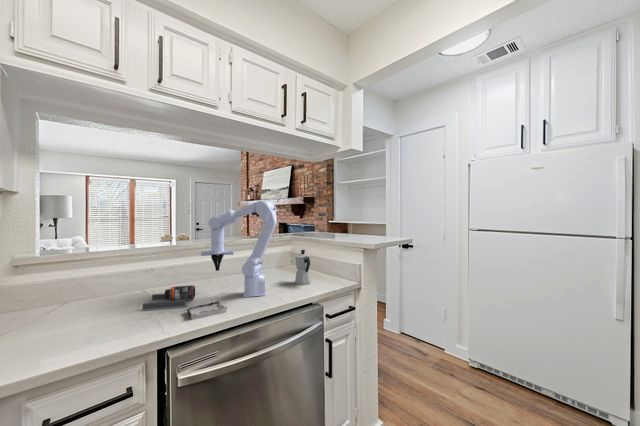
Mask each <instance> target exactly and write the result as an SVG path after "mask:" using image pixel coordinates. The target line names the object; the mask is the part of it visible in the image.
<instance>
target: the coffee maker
mask: <svg viewBox="0 0 640 426" xmlns="http://www.w3.org/2000/svg"><path fill="white" fill-rule="evenodd" d="M305 251H306V249H301V250H300V254H297V255H295V256H294V258H295V265H296V269H297V270H296V273H295V279H294V284H295V285H298V286H307V285H310V284H311V283H312V281H311V274H310V270H309V269H310V266H311V255H310V254H306V252H305Z"/></svg>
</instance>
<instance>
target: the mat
mask: <svg viewBox="0 0 640 426" xmlns="http://www.w3.org/2000/svg"><path fill="white" fill-rule="evenodd" d="M191 301H192V299H191V300H176V301H171V300H170V299H165V297H164V293H157V294H152V295H151V300H150V301H149V302H143V303H142V309H141V312H145V311H155V310H156V311H157V310H168V309H171V310H172V309H180V308H181V309H182V308H188V306H189V305H190V303H191Z"/></svg>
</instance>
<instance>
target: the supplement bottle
mask: <svg viewBox="0 0 640 426" xmlns="http://www.w3.org/2000/svg"><path fill="white" fill-rule="evenodd" d="M163 294H164V297H165V299H170V300H171V301H176V300H191V301H192V300H194V299H195V297H196V286H195V285H193V284H192V285H178V286H171V287H170V288H168V289H167V288H166V289H165V290H164V293H163Z"/></svg>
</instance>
